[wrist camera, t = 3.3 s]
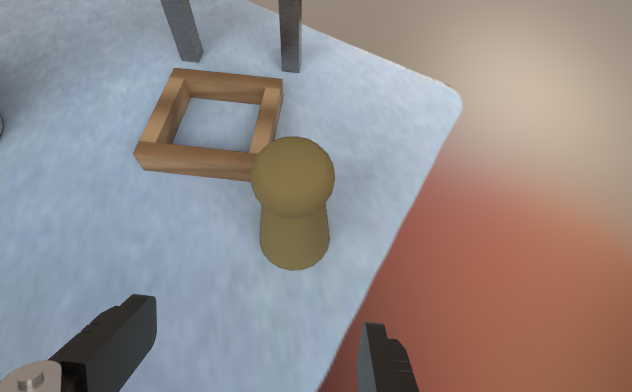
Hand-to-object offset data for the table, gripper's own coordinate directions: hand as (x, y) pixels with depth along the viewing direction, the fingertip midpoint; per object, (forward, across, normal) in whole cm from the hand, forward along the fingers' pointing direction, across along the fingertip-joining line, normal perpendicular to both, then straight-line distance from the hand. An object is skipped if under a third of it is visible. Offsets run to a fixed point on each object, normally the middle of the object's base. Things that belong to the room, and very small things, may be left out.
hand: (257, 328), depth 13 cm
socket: (+23, +9, -5) cm, 26 cm away
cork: (+16, 0, +3) cm, 16 cm away
